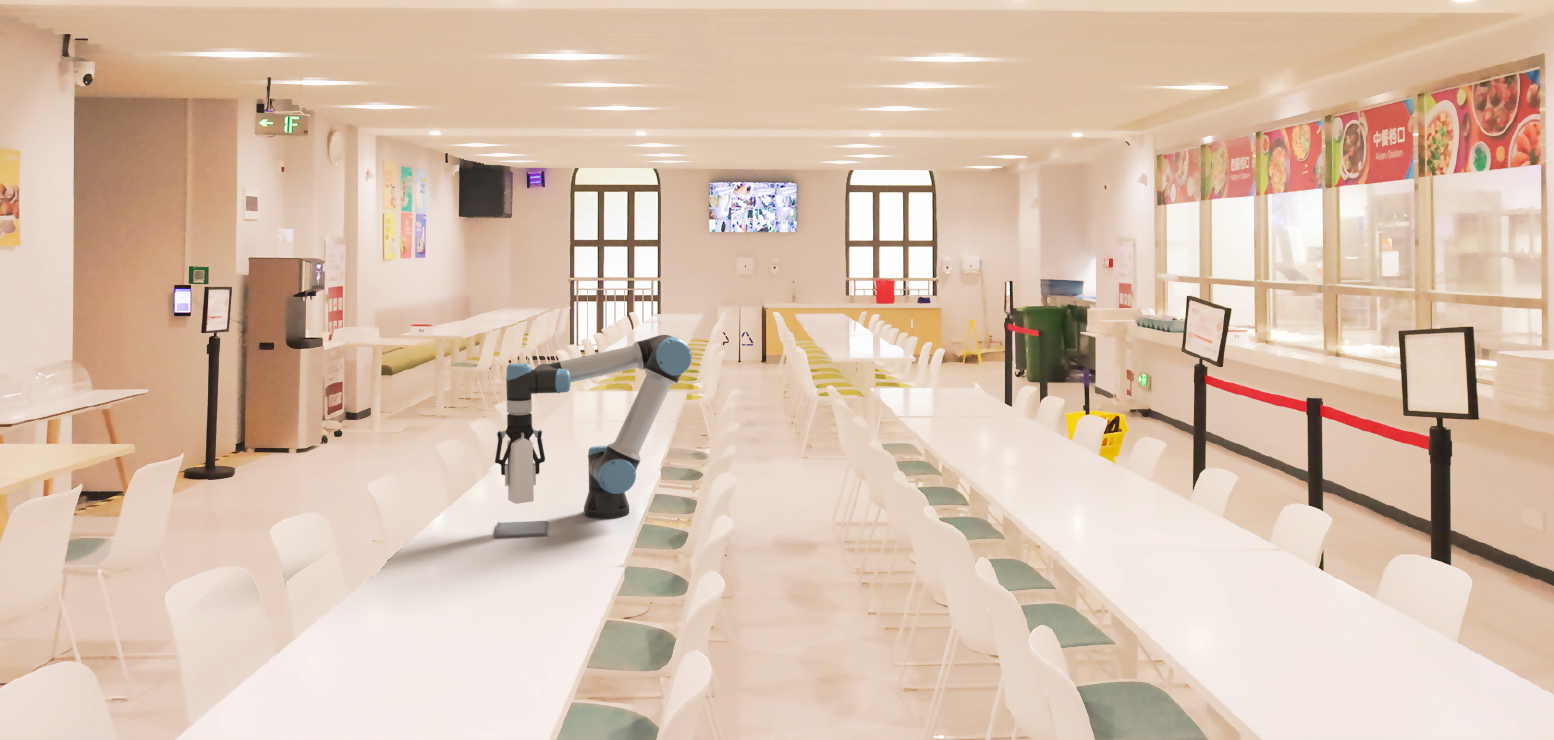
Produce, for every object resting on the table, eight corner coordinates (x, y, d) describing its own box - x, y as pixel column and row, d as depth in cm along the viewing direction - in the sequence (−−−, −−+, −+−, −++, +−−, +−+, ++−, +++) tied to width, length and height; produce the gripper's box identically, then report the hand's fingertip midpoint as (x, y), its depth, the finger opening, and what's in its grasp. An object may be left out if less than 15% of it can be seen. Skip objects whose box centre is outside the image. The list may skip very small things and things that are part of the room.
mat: (548, 523, 352) (548, 520, 352) (547, 536, 336) (547, 533, 336) (497, 525, 349) (497, 522, 349) (494, 538, 333) (494, 535, 333)
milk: (515, 504, 337) (514, 434, 334) (508, 500, 342) (506, 431, 339) (534, 501, 341) (532, 432, 338) (526, 497, 346) (524, 429, 343)
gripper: (553, 410, 344) (554, 481, 346) (486, 411, 340) (487, 483, 342) (553, 414, 336) (554, 486, 339) (484, 415, 333) (485, 488, 335)
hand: (520, 484), depth 341 cm, fingers closed on milk, 8 cm apart
